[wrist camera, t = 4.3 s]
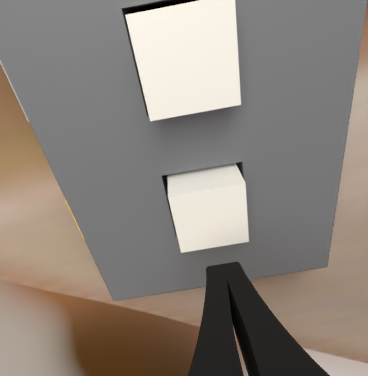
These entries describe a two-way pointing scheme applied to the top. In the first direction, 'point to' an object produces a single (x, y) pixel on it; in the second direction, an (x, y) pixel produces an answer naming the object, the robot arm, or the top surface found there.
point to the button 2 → (209, 207)
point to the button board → (189, 133)
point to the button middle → (187, 57)
